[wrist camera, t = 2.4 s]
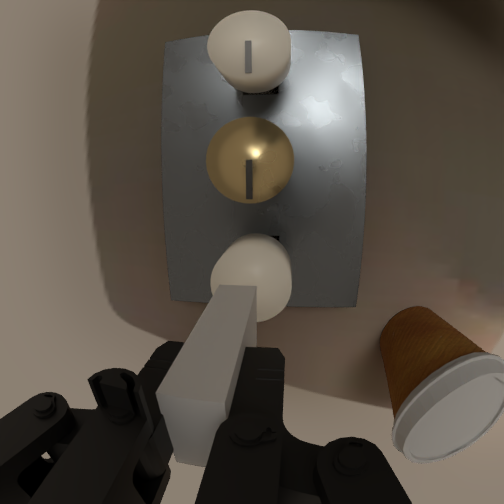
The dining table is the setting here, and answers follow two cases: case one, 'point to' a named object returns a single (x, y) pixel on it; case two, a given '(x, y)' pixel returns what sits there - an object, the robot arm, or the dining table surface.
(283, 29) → the knob
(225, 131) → the brass pot knob
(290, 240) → the mount panel
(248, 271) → the knob
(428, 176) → the dining table surface
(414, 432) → the disposable coffee cup
